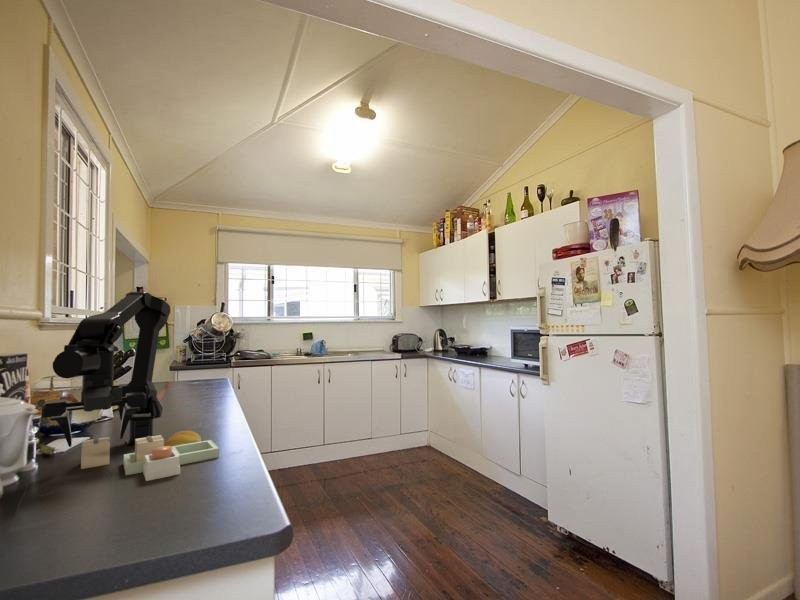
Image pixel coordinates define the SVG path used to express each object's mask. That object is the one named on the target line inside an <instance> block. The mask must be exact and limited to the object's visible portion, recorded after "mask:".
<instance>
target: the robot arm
mask: <svg viewBox="0 0 800 600" xmlns="http://www.w3.org/2000/svg"><path fill="white" fill-rule="evenodd" d="M170 315H171V305H170V304H169V303H167V301H165V300H164V299H163V298H160V297H156V296H155V295H152V294H151V293H149V292H146V291H130V292H128V293H126V294H125V297H123V298H122V299H120V300H119V301H118V302H116V304H114V305H113V306H111V307H110V308H109V309H107V310H106V311H104V312H102V313H99V314H98V313H97V314H93V315H90V316H88V317H86V318H83V319H82V320H81V321H80V322H79V323H78V326H77V327H76V329H75V331H74V332H73V335H72V336H71V338H70V340H69V342H68V344H67V345H66V344H65V345H64V346H63V351H62V352H60V353H58V354H57V355H55V358H54V360H53V362H52V369H53V372H54V373H55V374H56V375H57V376H58V377H59V378H61V379H74V378H77V377H82V382H81V383H82V384H81V387H82V388H81V396H80V400H79V401H71V402H68V399H67V398H64V399H54V400H47V401H46V402H45V403H43V405H42V407H41V418H43V419H44V418H45V419H47V418H49V421H51V422H52V421H55V422H56V423H57V424H58V425H59V427H60V429H61V430H62V433H63V435H64V437H65V440H66V443H67V445H68V447H69V448H71V447H72V443H73V439H72V430H71V419H70V412H71V411H79V410H82V411H84V412H93V411H98V410H103V411H106V410H110V409H111V408H112V407H117V409H118V412H119V418H120V421H121V423H120V429H119V439H120V440H123V437H124V436H125V432H126V430H127V427H128V437H127V438H125V442H126V445H127V446H131V445H135V439H138V438H145V437H146V436H155V434H154V421H155V419H158V418H159V419H160V418H161V417H162V414H163V409H164V408H163V406H162V404H161V402H160V400H159V399H158V397H157V396H158V390H157V389H156V387H155V385H154V383H153V375H154V369H155V363H156V356H157V355H156V354H157V349H158V341H159V336H160V332H161V330H162V329H164V327H165V325H166V324H167V323H168V319H169V316H170ZM133 318H134V321H135V323H136V324H137V327H138V328H139V330H138V337H137V342H136V344H137V345H136V349H135V355H134V362H133V366H132V367H133V368H132V373H131V378H130V381H129V383H128V384H126V385H122V384H118V385H114V373H115V371H114V370H115V368H114V367H115V353H116V352H118V351H119V348H118V347H117V346H116V345H115V342H117V341H118V340H119V338H120V337H121V336H122V335H123V333H124V329H123V327H124V325H125V324H126V323H128V322H129V321H130V320H131V319H133Z"/></svg>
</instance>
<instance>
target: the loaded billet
mask: <svg viewBox="0 0 800 600" xmlns="http://www.w3.org/2000/svg"><path fill="white" fill-rule="evenodd" d="M164 444H165V439H164V437H163V436H162V434H159V435H154V436H146V437H145V438H138V439H135V444H134V453H135V462H139V461H145V455H150V454H152V449H154V448H157V447H162V446H164Z"/></svg>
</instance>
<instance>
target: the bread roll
mask: <svg viewBox="0 0 800 600" xmlns="http://www.w3.org/2000/svg"><path fill="white" fill-rule="evenodd" d="M201 441H202V437H201V436H200V434H198V433H197V432H195V431H192V430H182V431H178V432H175V433H174V434H173V435H171V436H170V437H169V438H168V440H166V441H164V446H177V445H183V444H189V443H195V442H201Z"/></svg>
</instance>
